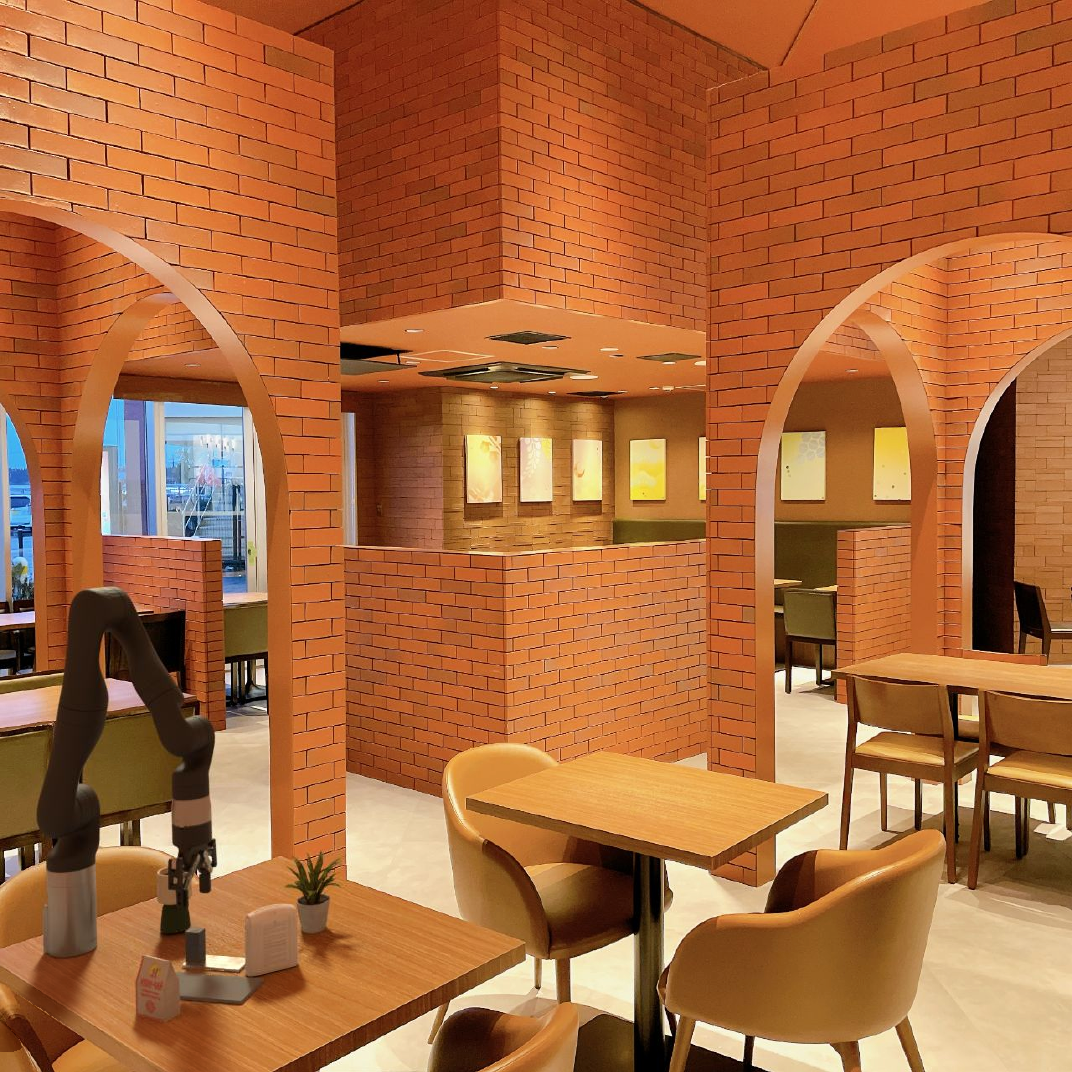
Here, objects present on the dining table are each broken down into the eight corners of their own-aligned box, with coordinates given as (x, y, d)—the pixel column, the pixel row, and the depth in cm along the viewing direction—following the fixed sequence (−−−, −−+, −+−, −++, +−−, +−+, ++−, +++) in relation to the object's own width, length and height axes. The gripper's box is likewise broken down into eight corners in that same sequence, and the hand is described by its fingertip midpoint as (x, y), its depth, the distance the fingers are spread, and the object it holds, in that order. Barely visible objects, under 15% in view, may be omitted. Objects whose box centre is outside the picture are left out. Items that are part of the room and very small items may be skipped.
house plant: (351, 939, 210) (350, 861, 210) (283, 947, 206) (281, 868, 206) (347, 914, 224) (346, 840, 223) (283, 921, 220) (281, 846, 220)
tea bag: (152, 1005, 182) (151, 950, 182) (179, 1013, 179) (178, 957, 179) (136, 1014, 179) (134, 958, 179) (163, 1022, 176) (162, 965, 176)
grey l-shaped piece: (182, 969, 198) (181, 934, 198) (195, 958, 203) (195, 924, 202) (238, 973, 195) (238, 938, 195) (250, 962, 200) (250, 928, 200)
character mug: (203, 932, 215) (202, 871, 215) (171, 942, 210) (170, 880, 209) (179, 919, 222) (178, 860, 222) (148, 928, 217) (146, 868, 217)
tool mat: (150, 996, 186) (150, 993, 186) (177, 974, 195) (177, 971, 195) (241, 1004, 182) (241, 1000, 182) (263, 981, 191) (263, 978, 191)
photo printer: (293, 958, 201) (292, 896, 201) (301, 966, 198) (300, 903, 198) (242, 971, 196) (241, 908, 195) (249, 980, 192) (248, 915, 192)
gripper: (193, 808, 207) (195, 886, 207) (154, 829, 193) (156, 913, 193) (227, 809, 206) (229, 888, 206) (189, 830, 192) (192, 915, 192)
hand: (194, 900), depth 200 cm, fingers open, 8 cm apart
